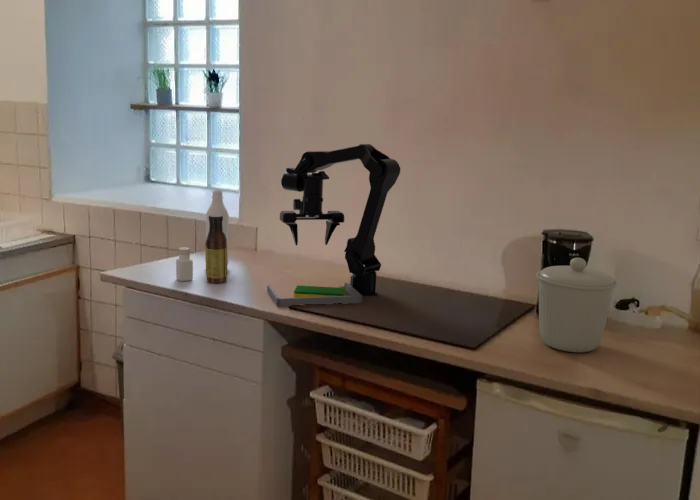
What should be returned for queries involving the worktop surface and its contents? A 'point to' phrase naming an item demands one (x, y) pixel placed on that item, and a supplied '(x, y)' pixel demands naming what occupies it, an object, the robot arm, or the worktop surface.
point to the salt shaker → (184, 265)
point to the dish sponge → (317, 291)
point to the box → (317, 298)
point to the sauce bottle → (216, 251)
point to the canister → (574, 305)
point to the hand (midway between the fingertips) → (311, 244)
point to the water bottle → (219, 209)
